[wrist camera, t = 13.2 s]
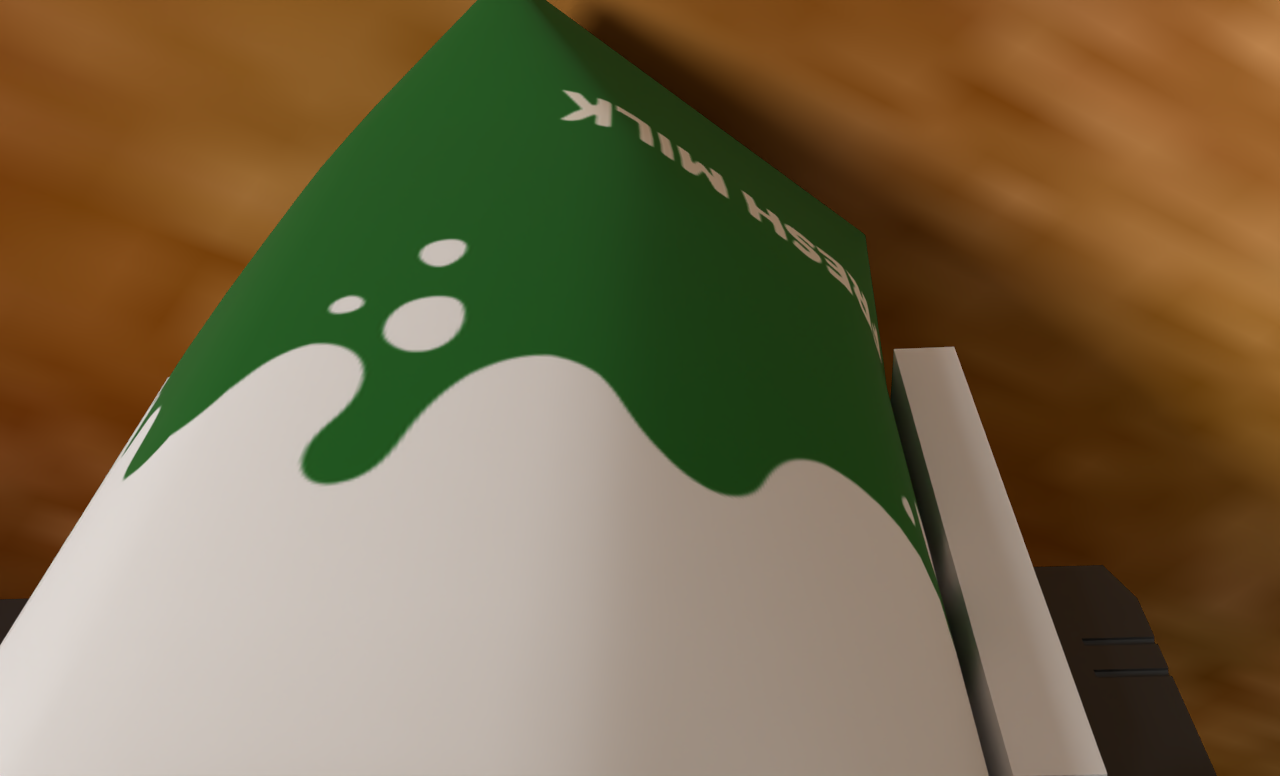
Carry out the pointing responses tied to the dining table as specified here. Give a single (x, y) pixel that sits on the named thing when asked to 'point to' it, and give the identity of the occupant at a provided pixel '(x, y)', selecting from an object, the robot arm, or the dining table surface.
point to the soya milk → (512, 471)
